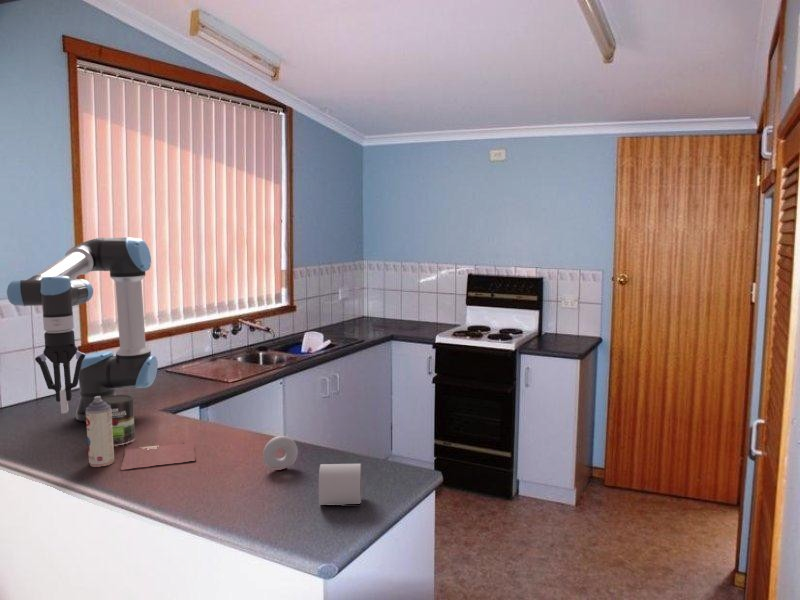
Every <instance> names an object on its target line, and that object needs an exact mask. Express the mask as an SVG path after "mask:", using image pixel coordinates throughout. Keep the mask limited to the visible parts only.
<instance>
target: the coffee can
mask: <svg viewBox="0 0 800 600" xmlns="http://www.w3.org/2000/svg"><path fill="white" fill-rule="evenodd" d="M101 400H103V401H104V402H106V403H107V404H108V405H110V407H111V414H112V430H113V445H118V444H122V443H126V442H128V441H131V440H133V439H134V438H135V439H136V435H135V432H136V430H135V414H134V412H135V411H134V396H132V395H128V394H116V395H114V396H108V397H104V398H102V399H101Z"/></svg>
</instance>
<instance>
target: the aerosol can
mask: <svg viewBox="0 0 800 600" xmlns="http://www.w3.org/2000/svg"><path fill="white" fill-rule="evenodd" d="M85 423H86V424H85V425H86V436H87V437H86V438H87V450H88V451H87V453H88V464H89V463H91V464H104V463H108V462H111V461H113V460H114V461H115V450H114V446H113V430H112V414H111V407H110V405H108V404H107V403H106V402H104V401H103V400H101V396H96V397H94V401H93V402H92V403H91V404H90V405H89V407H87V408H86V422H85Z"/></svg>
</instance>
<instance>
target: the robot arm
mask: <svg viewBox="0 0 800 600" xmlns="http://www.w3.org/2000/svg"><path fill="white" fill-rule="evenodd" d="M151 264H152V257H151V251H150V249H149V247H148V244H147V243H146V241H144V240H143V239H142V238H139V237H97V238H96V237H95V238H92V239H89V240H86V241H84V242H82V243H79V244H77V245H75V246H73V247H72V248H70V249H69V250H67V251H66V253H65V255H64V256H63V257H62V258H60V259H58V260H57V261H55V262H53V263H52V264H50V265H49V266H48V267H46V268H44V269H42V270H41V271H39V272H37V273H36V274H34V275H32V276H31V277H30V278H27V279H19V280H18V279H17V280H12V281H10V283H9V284H8V286H7V288H6V295H7V300H8V302H9V303H10V304H12V305H13V306H23V307H26V306H27V307H30V306H31V307H33V306H34V307H35V306H37V307H39V306H41V307H42V322H43V323H42V324H43V331H45V332H44V334H43V337H44V346H45V347H44V350H43V353H41V354H39V355H37V356H36V357H35V358H34V359H35V362H36V363H37V364H38V365H39V367H40V370H41V372H42V375H43V379H44V382H45V383H46V386H47V389H48V390H53V391H54V392H55V400H56V402H57V403H58V402H59V403H60V413H61V415H62V414H67V413H68V412H69V401H71V400H72V398H73V395H72V394H73V393H72V389H74V388H76V387H77V386H78V385H79V396H80V397H79V401H78V405H77V408H76V412H75V419H76V421H78V420H79V421H78V422H82V421H84V422H83V423H86V408H87V407H89V405H90V404H91V403H92V402H93V401H94V397H96V396H101V399H102V398H104V397H108V396H114V395H117V394H116V389H142V388H143V389H144V388H145V389H147V388H149V387H150V386H152V385H153V383H154V382H155V379H156V377H157V373H158V358H157V357H156V355H154V354H152V353H151V352H152V351H151V348H149V346H147V345H146V344H147V343H146V331H145V315H144V313H145V312H144V302H143V286H142V284H143V283H142V280H143V279H144V277H145V276H146V272H147V271H149V270H150V269H151V266H152V265H151ZM99 271H100V272H109V277H110V278H111V279H112V280H113V281H114V282H115V284H114V285H115V296H116V297H115V298H116V299H115V300H116V309H117V310H116V312H117V323H118V325H117V326H118V338H119V348H118V349H117V350H116V352H115V355H114V352H113V351H110V350H104V351H98V352H93V353H89V354H86V352H82V351H80V350H78V348H77V346H76V341H75V340H76V339H75V331H74V330H73V329H74V328H75V326H74V325H75V324H74V313H73V312H74V311H73V310H74V309H73V307H75V306H78V305H79V306H81V305H84V304H85V303H87V302H89V301H90V300H92V297H93V295H94V288H93V285H92V284H91V283H90V282H89V281H88V280H86V279H84V278H77V277H79V276H80V275H81V276H83V275H86V274H88V273H90V272H99ZM74 357H75V358H76V360H77V361H76V364H75V368H74V374H73V379H72V377H71V367H70V366H71V365H70V364H71V361H72V359H73V358H74ZM47 359H48V360H49V361H50V362H51V363H52V367H53V378H52V375H51V372H50V369H49V367H48V363H47V362H46V361H47ZM61 364H63V365H62V367H63V378H64V379H63V380H64V388H62V378H61V377H62V376H61Z"/></svg>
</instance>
